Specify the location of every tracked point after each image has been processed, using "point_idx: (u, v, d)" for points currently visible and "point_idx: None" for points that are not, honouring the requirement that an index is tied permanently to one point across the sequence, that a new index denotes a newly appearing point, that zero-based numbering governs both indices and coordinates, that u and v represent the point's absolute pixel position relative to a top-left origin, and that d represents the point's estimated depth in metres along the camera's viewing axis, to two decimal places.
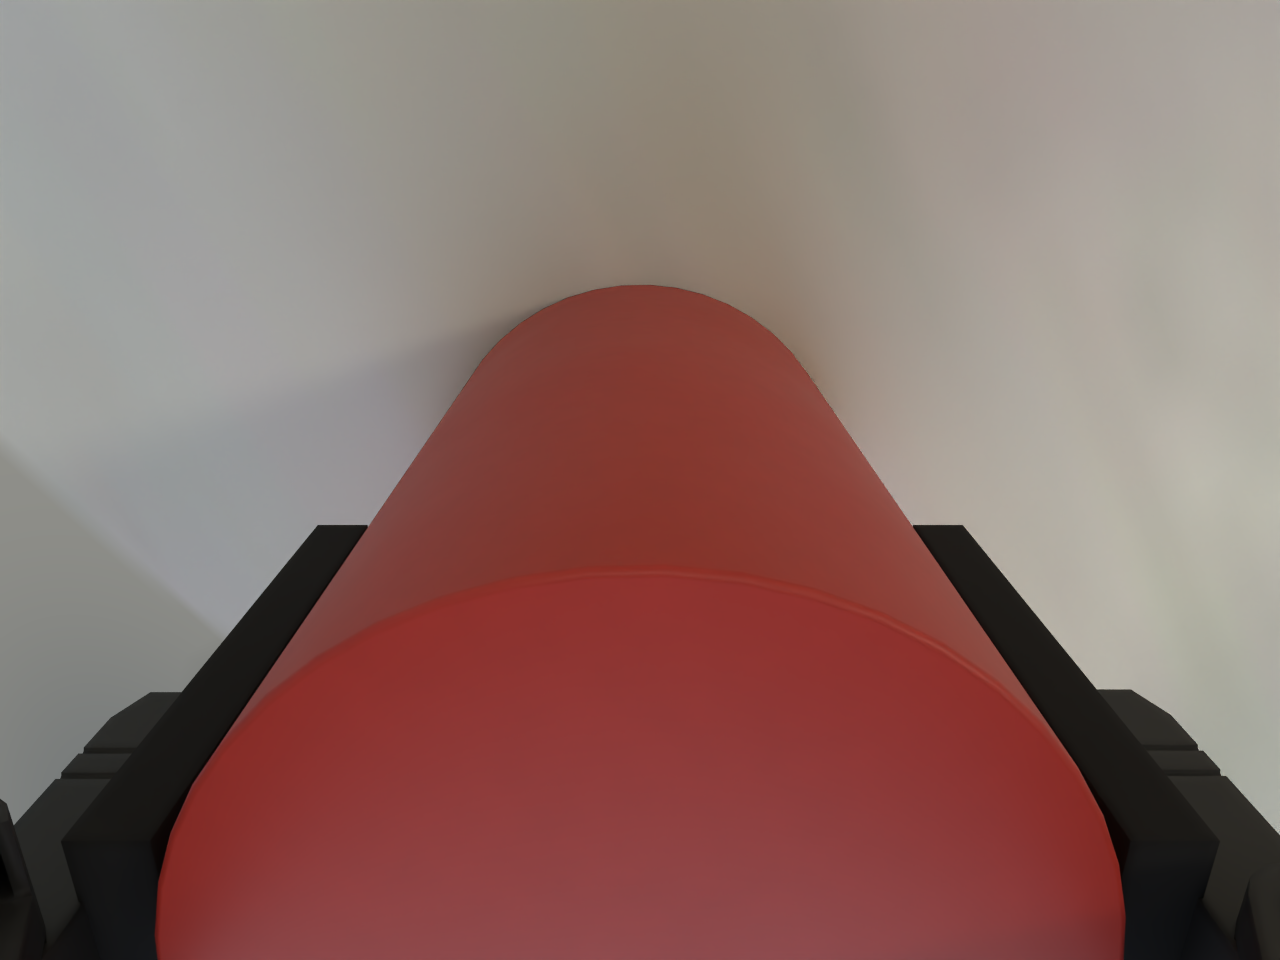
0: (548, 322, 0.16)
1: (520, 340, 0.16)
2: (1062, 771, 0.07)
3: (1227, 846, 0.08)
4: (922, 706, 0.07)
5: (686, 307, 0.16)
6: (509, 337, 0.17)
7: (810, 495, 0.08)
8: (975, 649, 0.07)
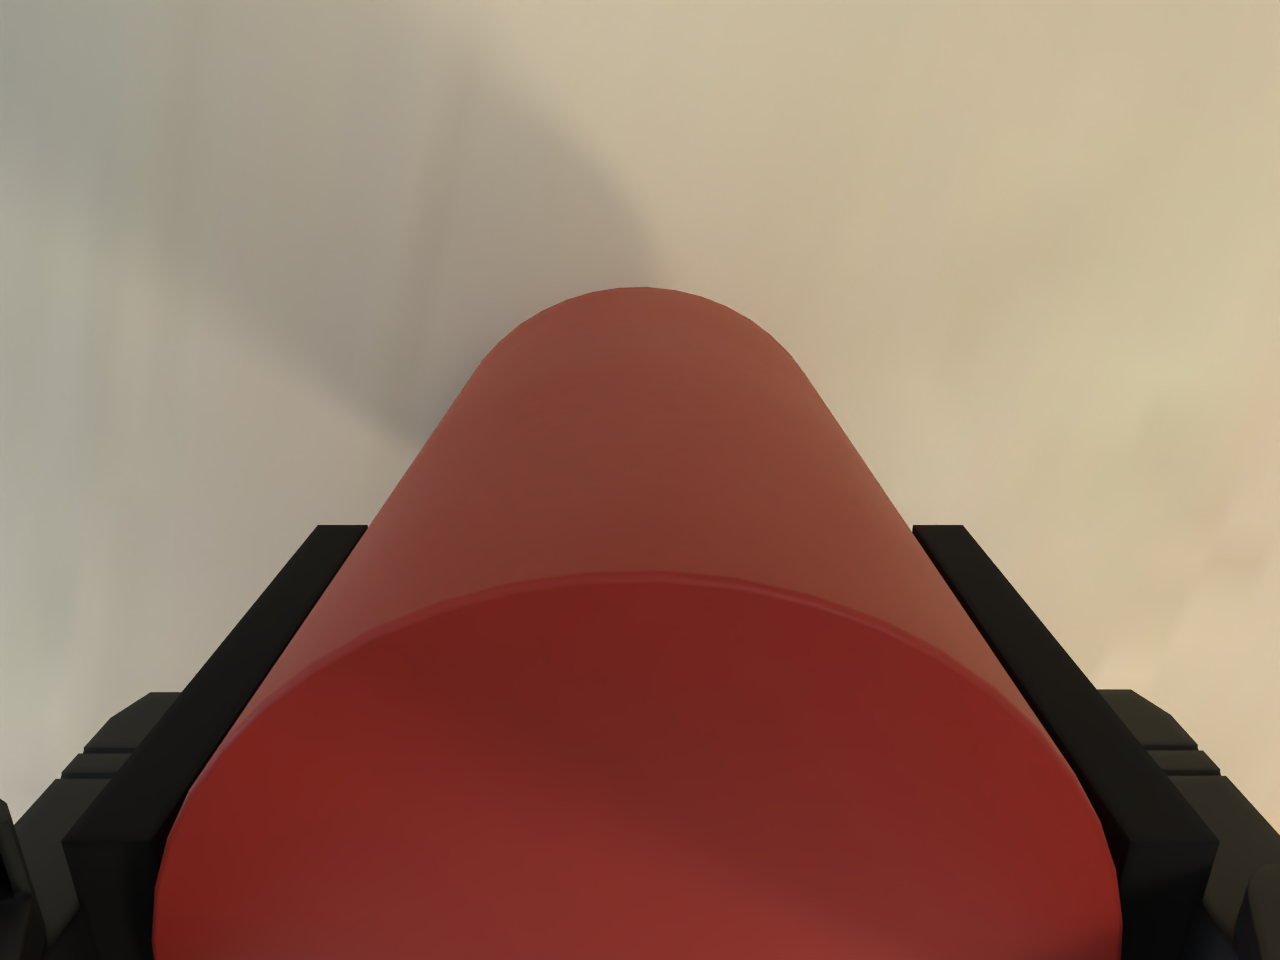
0: (547, 324, 0.16)
1: (519, 343, 0.16)
2: (1059, 777, 0.07)
3: (1227, 846, 0.08)
4: (919, 713, 0.07)
5: (685, 310, 0.16)
6: (508, 339, 0.17)
7: (808, 498, 0.08)
8: (972, 655, 0.07)
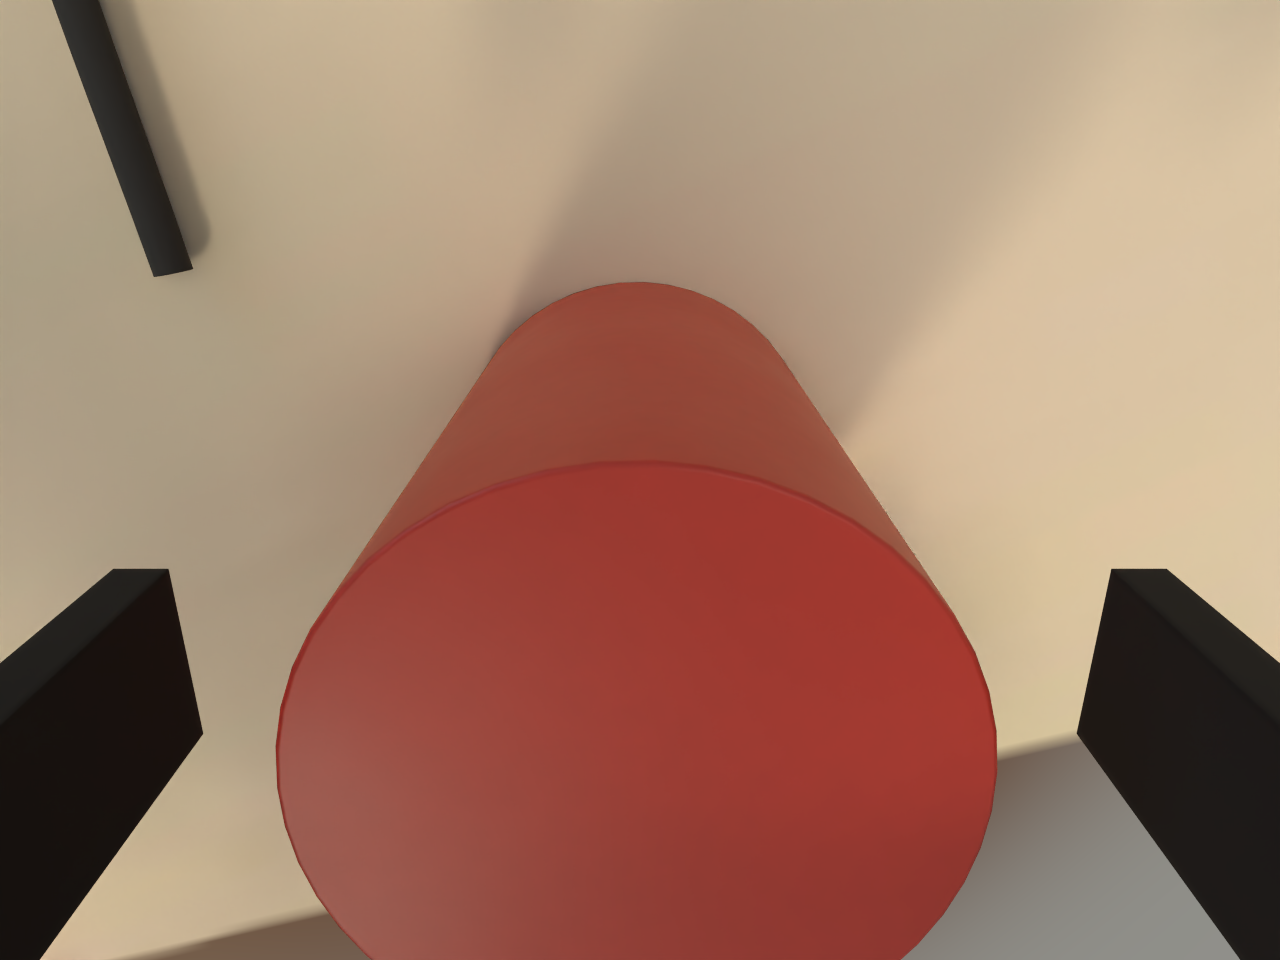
0: (558, 312, 0.19)
1: (534, 327, 0.18)
2: (942, 616, 0.10)
3: None
4: (839, 566, 0.09)
5: (676, 300, 0.19)
6: (524, 327, 0.20)
7: (765, 427, 0.11)
8: (880, 529, 0.10)
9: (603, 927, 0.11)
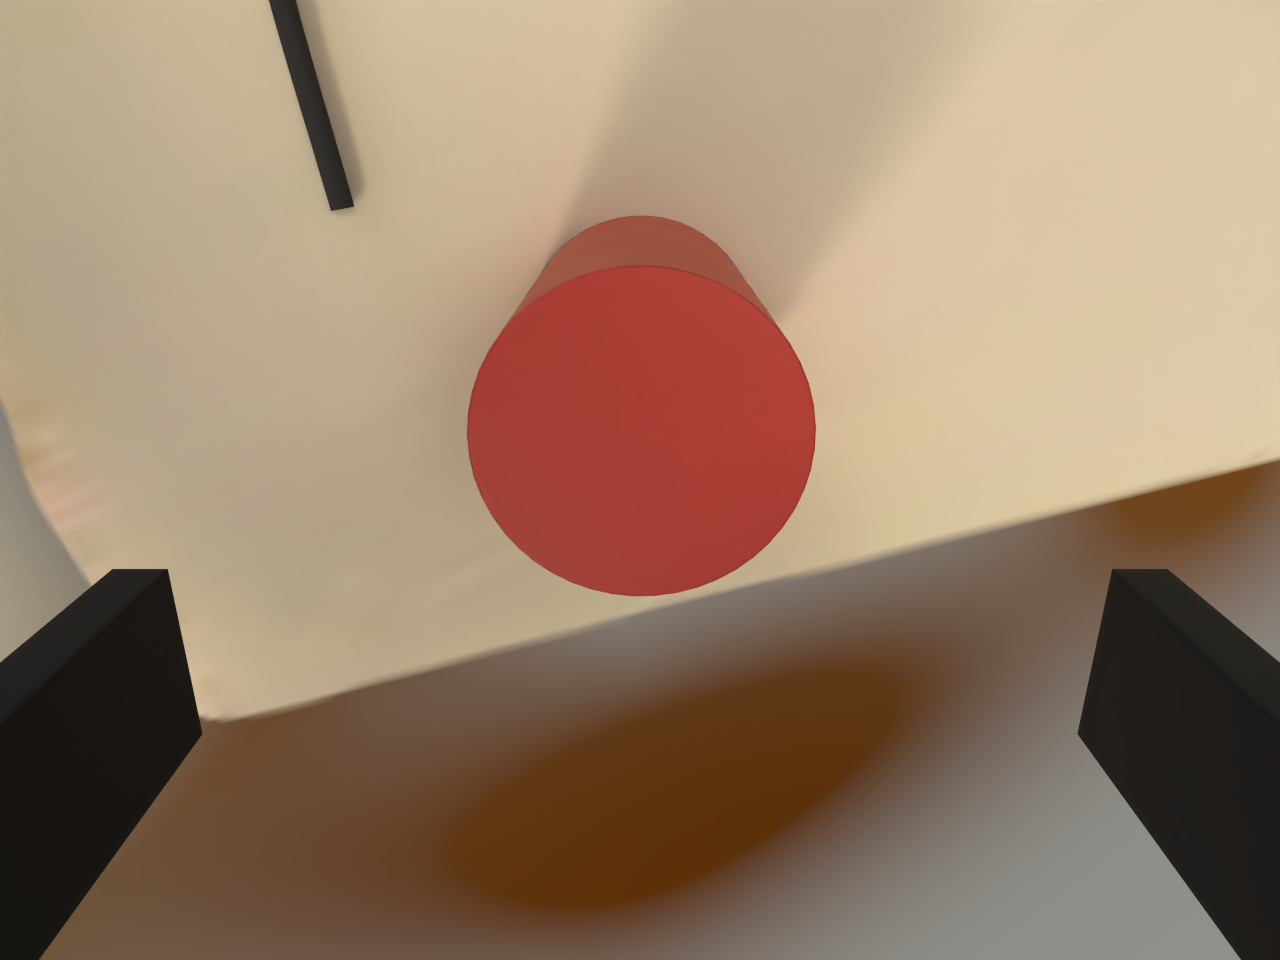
0: (591, 231, 0.29)
1: (577, 240, 0.29)
2: (783, 343, 0.20)
3: None
4: (734, 317, 0.20)
5: (666, 223, 0.29)
6: (568, 243, 0.31)
7: (706, 266, 0.22)
8: (755, 303, 0.21)
9: (624, 516, 0.22)
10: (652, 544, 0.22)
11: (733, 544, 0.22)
